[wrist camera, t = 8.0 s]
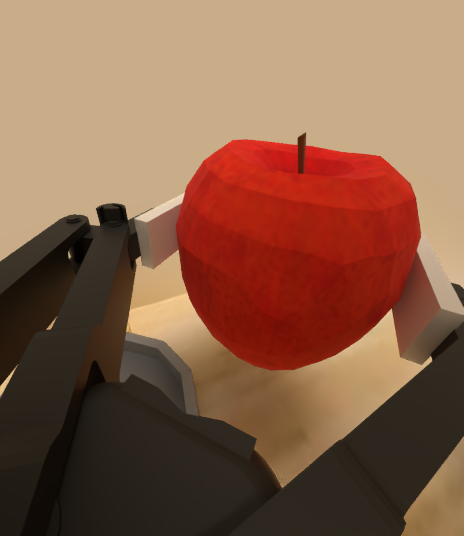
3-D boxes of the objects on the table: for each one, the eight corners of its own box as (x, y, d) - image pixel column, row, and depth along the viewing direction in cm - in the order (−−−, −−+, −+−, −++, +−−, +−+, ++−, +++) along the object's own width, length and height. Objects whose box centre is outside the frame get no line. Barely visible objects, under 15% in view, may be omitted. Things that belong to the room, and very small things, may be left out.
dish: (182, 330, 31) (181, 314, 29) (215, 527, 17) (216, 520, 15) (27, 359, 26) (14, 342, 25) (-99, 659, 13) (-148, 670, 11)
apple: (327, 294, 22) (395, 131, 15) (372, 439, 13) (640, 196, 5) (202, 278, 23) (203, 112, 15) (158, 405, 13) (99, 137, 6)
